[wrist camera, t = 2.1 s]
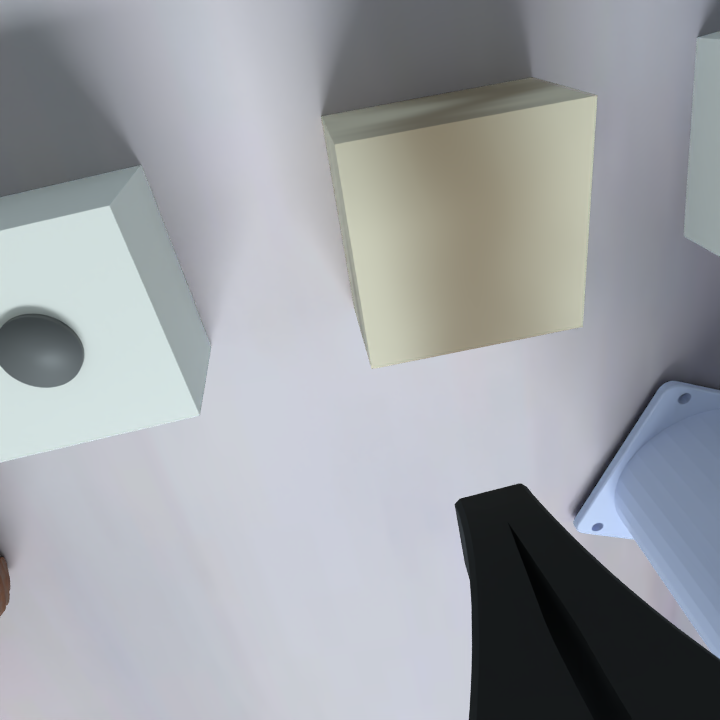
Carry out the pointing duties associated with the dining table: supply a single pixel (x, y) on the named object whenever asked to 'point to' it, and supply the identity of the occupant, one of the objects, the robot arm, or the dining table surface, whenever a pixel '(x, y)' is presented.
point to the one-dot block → (93, 316)
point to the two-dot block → (705, 148)
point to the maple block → (464, 216)
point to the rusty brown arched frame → (4, 585)
